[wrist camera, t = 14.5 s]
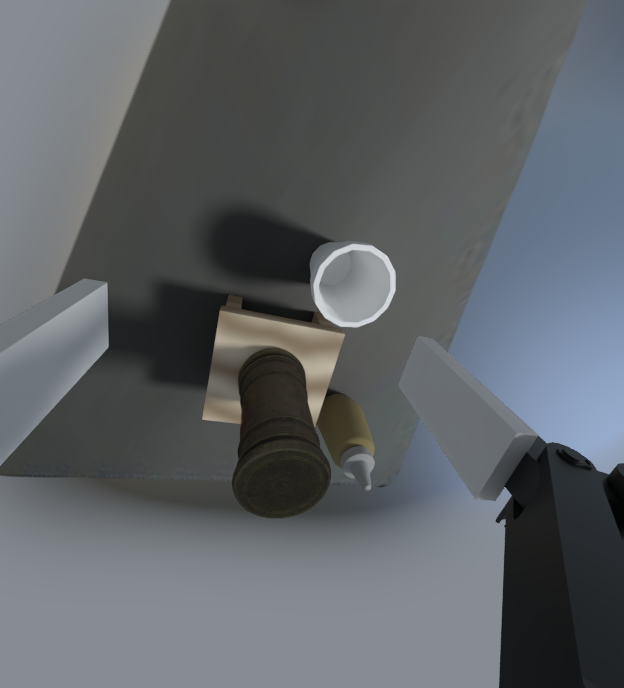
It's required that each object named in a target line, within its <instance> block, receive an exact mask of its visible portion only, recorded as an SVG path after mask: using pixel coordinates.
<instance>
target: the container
mask: <svg viewBox="0 0 624 688" xmlns="http://www.w3.org/2000/svg"><path fill="white" fill-rule="evenodd" d="M238 387H239V395H240V404H241V428H240V443H239V447H238V457H239V460H238V463H237V467H236V469H235V471H234V474H233V479H232V486H233V491H234V495H235V497H236V499H237V501H238V502H239V504H240V505H241V506H242V507H243V508H244V509H246V510H247V511H249V512H251V513H253V514H255V515H258V516H261V517H266V518H285V517H291V516H295V515H298V514H300V513H303V512H305V511H307V510H309V509H310V508H312V507H313V506H314V505H316V504H317V503H318V502H319V501H320V500H321V499H322V498H323V496H324V495H325V493H326V491H327V489H328V487H329V484H330V479H331V469H330V464H329V462H328V460H327V458H326V457H325V455H324V454H323V452H322V450H321V449H320V441H319V437H318V435H317V433H316V431H315V427H314V424H313V420H312V416H311V412H310V408H309V404H308V394H307V390H306V375H305V370H304V368H303V366H302V364H301V362H300V361H299V360H298V359H297V358H296V357H295V356H294V355H293V354H291V353H290V352H288V351H286V350H283V349H280V348H267V349H264V350H261V351H258V352H256V353H254V354H253V355H251V356H250V357H249V358H248V359H247V360H246V361H245V363H244V364H243V366H242V367H241V369H240V372H239V375H238Z"/></svg>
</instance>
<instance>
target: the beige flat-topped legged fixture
mask: <svg viewBox="0 0 624 688" xmlns="http://www.w3.org/2000/svg"><path fill="white" fill-rule="evenodd" d="M242 299H243V297H239V296H234V295H230V294H229V295H228V299H227V303H226V306H222V305H221V308H220V313H219V319H218V325H217V331H216V338H215V344H214V350H213V356H212V362H211V368H210V375H209V381H208V387H207V393H206V399H205V406H204V412H203V418H202V420H211V421H220V422H230V423H239V424H241V404H240V395H239V387H238V375H239V372H240V369H241V367H242V366H243V364H244V363H245V361H246V360H247V359H248V358H249V357H250V356H251V355H253V354H254V353H256V352H258V351H261V350H264V349H267V348H280V349H283V350H286V351H288V352H290V353H291V354H293V355H294V356H295V357H296V358H297V359H298V360H299V361H300V362H301V364H302V366H303V368H304V370H305V375H306V390H307V394H308V404H309V408H310V412H311V416H312V420H313V424H314V427H315V426H316V423H317V420H318V417H319V414H320V411H321V407H322V404H323V401H324V398H325V395H326V392H327V389H328V386H329V383H330V379H331V376H332V373H333V370H334V367H335V364H336V361H337V358H338V355H339V351H340V348H341V345H342V342H343V339H344V336H345V334H344V332H343V330H342V329H341V328H336V327H334V326H333V324H332V322H331V321H329V320H328V319H326V318H325V317H324V316H323V314H322V313H318V312H314V315H313V319H312V323H310V322H305V321H299V320H294V319H289V318H284V317H279V316H274V315H269V314H263V313H258V312H253V311H248V310H243V309H241V308H242Z"/></svg>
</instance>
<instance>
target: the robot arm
mask: <svg viewBox="0 0 624 688" xmlns="http://www.w3.org/2000/svg"><path fill="white" fill-rule="evenodd" d="M108 347H109V339H108V295H107V282H102V281H96V280H90V279H83V280H81V281H79V282H77V283H75V284H74V285H72V286H70V287H68V288H66V289H65V290H63V291H61V292H59V293H57V294H55V295H54V296H52V297H50V298H48V299H46V300H45V301H43V302H41V303H39V304H37V305H36V306H34V307H32V308H30V309H28V310H26V311H25V312H23V313H21V314H19V315H17V316H16V317H14V318H12V319H10V320H8V321H6V322H5V323H3V324H1V325H0V465H1V464H2V463H3V462H4V461H5V460H6V459H7V458H8V457H9V456H10V455H11V453H12V452H13V451H14V450H15V449H16V448H17V447H18V446H19V445H20V444H21V442H22V441H23V440H24V439H25V438H26V437H27V436H28V435H29V434H30V433H31V432H32V430H33V429H34V428H35V427H36V426H37V425H38V424H39V423H40V422H41V421H42V420H43V418H44V417H45V416H46V415H47V414H48V413H49V412H50V411H51V410H52V409H53V408H54V406H55V405H56V404H57V403H58V402H59V401H60V400H61V399H62V398H63V397H64V395H65V394H66V393H67V392H68V391H69V390H70V389H71V388H72V387H73V386H74V385H75V383H76V382H77V381H78V380H79V379H80V378H81V377H82V376H83V375H84V374H85V373H86V371H87V370H88V369H89V368H90V367H91V366H92V365H93V364H94V363H95V362H96V361H97V359H98V358H99V357H100V356H101V355H102V354H103V353H104V352H105V351H106V350H107V348H108ZM398 386H399V387H400V389H401V390H402V392H403V393H404V395H405V396H406V398H407V399H408V401H409V402H410V404H411V405H412V407H413V408H414V410H415V411H416V413H417V414H418V416H419V417H420V418H421V420H422V421H423V423H424V424H425V426H426V427H427V429H428V430H429V432H430V433H431V435H432V436H433V438H434V439H435V440H436V442H437V443H438V445H439V446H440V448H441V449H442V451H443V452H444V454H445V455H446V457H447V458H448V460H449V461H450V463H451V464H452V466H453V467H454V469H455V470H456V472H457V473H458V474H459V476H460V477H461V479H462V480H463V482H464V483H465V485H466V486H467V488H468V489H469V491H470V492H471V494H472V495H473V496H474V498H475V499H476V500H494V501H496V499H497V497H498V496H499V495H500V493H501V492H502V490H503V489H504V487H506V488H507V490H508V491H509V492H510V493H511V495H512V497H511V498H510V500H509V501H508V502H507V504H506V505H505V507H504V508H503V510H502V511H501V513H500V514H499V515H498V517H497V519H496V522H497V523H500V521H501V520H502V519H506V525H505V526H504V527H506V528H505V553H504V579H503V603H502V604H503V605H502V629H501V655H500V679H499V680H500V682H499V688H624V463H623V464H618V465H617V466H616V467H615V468H614V470H613V471H612V472H611V473H610V474H606V473H603V472H599V471H597V470H596V468H595V467H594V465H593V464H592V463H591V462H590V461H589V460H588V459H587V458H585V457H584V456H582V455H581V454H580V453H578V452H577V451H575V450H573V449H571V448H569V447H567V446H564V445H561V444H559V443H553V442H552V443H548V444H547V443H546V442H545V441H543V440H542V439H541V438H540V437H539V436H538V434H536V432H535V431H533V430H532V429H531V428H530V427H529V426H528V425H527V424H526V423H524V421H523V420H521V419H520V418H519V417H518V416H517V415H516V414H515V413H514V412H513V411H511V410H510V409H509V408H508V407H507V406H506V405H505V404H504V403H503V402H502V401H501V400H499V399H498V398H497V397H496V396H495V395H494V394H493V393H492V392H491V391H490V390H488V389H487V388H486V387H485V386H484V385H483V384H482V383H481V382H480V381H479V380H477V379H476V378H475V377H474V376H473V375H472V374H471V373H470V372H469V371H467V370H466V369H465V368H464V367H463V366H462V365H461V364H460V363H459V362H457V360H455V359H454V358H453V357H452V356H451V355H450V354H449V353H448V352H447V351H446V350H444V349H443V348H442V347H441V346H440V345H439V344H438V343H437V342H436V341H435V340H433V339H432V338H427V337H421V336H418V337H417V340H416V342H415V345H414V347H413V349H412V352H411V354H410V357H409V359H408V362H407V364H406V367H405V369H404V372H403V374H402V377H401V379H400V382H399V384H398Z"/></svg>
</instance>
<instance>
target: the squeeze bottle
mask: <svg viewBox="0 0 624 688" xmlns="http://www.w3.org/2000/svg"><path fill="white" fill-rule="evenodd" d="M318 427H319V430H320V432H321V434H322V436H323V439H324V441H325V443H326V445H327V448H328V450H329V452H330V454H331V457H332V459H333V461H334V463H335V464H336V465H337V466H338V467H340V468H342V470H343V472H344V474H345V475H346V476H348V477H349V478H355V479H356V480H357V481H358V483H359V484H360V486H361V487H362V489H363V490H364V491H368V490H370V489H371V480H370V472H371V471H372V469H373V468H374V463H375V461H374V459H373V455H374V451H375V446H374V443H373V440H372V437H371V434H370V431H369V428H368V425H367V422H366V419H365V416H364V413H363V410H362V408H361V406H360V405H359V404H357V403H356V402H355V401H353V400H352V399H351V398H349V397H348V396H346V395H344V394H340V393H339V394H332V395H330V396H328V397H327V398H326V399H324V401H323V404H322V407H321V411H320V414H319V417H318Z"/></svg>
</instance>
